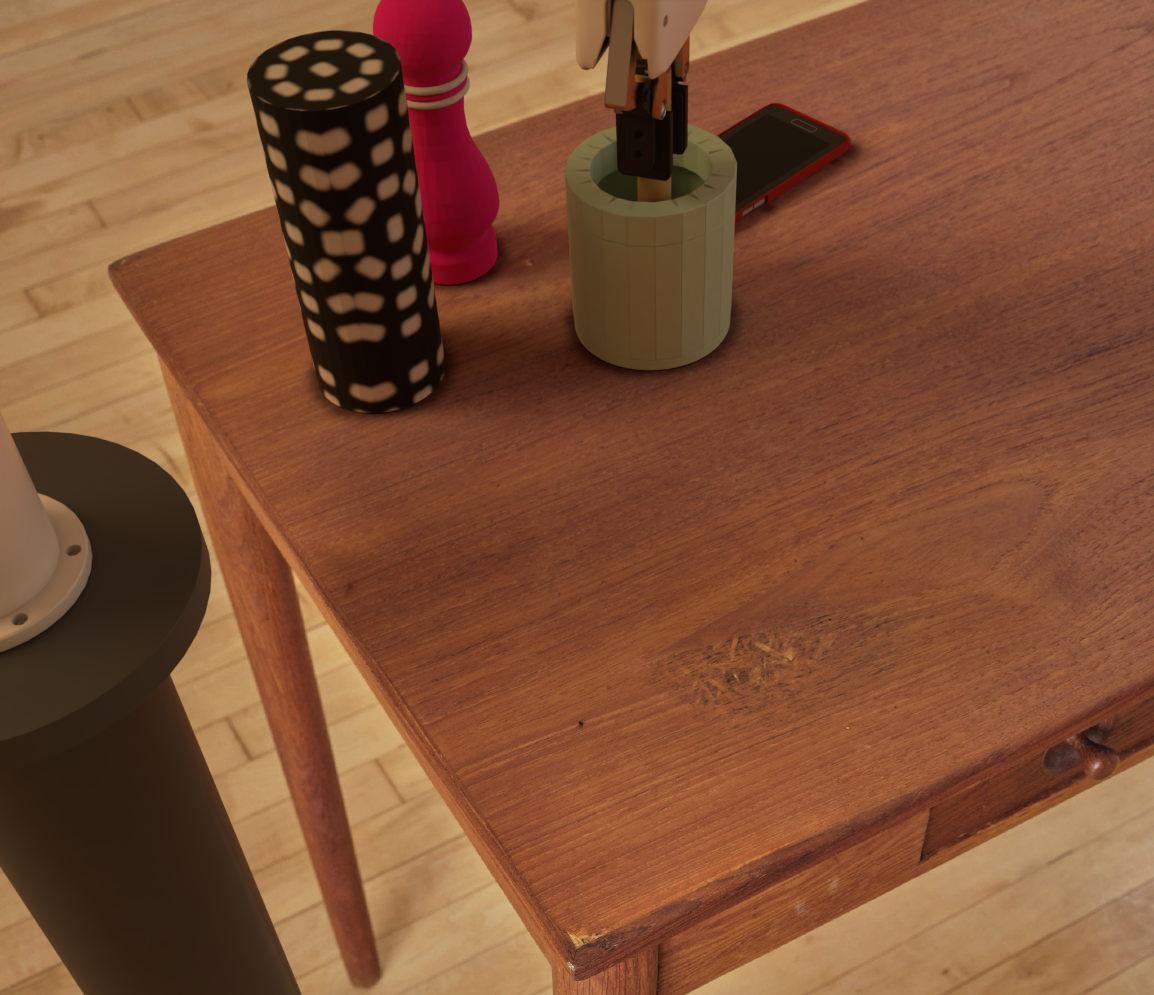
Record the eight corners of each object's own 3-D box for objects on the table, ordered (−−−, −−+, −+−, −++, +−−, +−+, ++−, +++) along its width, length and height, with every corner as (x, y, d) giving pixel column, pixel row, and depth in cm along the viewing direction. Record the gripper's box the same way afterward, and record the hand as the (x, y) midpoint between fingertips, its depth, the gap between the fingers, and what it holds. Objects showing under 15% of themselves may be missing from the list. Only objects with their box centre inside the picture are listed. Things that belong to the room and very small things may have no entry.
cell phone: (854, 149, 109) (855, 136, 108) (716, 238, 103) (717, 226, 102) (774, 111, 112) (774, 99, 111) (636, 196, 106) (636, 183, 106)
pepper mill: (516, 277, 102) (488, -24, 86) (413, 299, 101) (364, 0, 85) (490, 219, 106) (458, -78, 90) (391, 240, 105) (340, -56, 89)
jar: (589, 381, 95) (581, 227, 86) (562, 286, 101) (552, 133, 92) (746, 357, 95) (754, 202, 87) (710, 264, 101) (714, 110, 93)
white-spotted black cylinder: (291, 375, 97) (215, 75, 81) (388, 314, 100) (334, 15, 84) (374, 431, 93) (312, 129, 77) (472, 367, 96) (432, 63, 80)
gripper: (628, -259, 77) (635, 83, 92) (517, -126, 69) (544, 229, 84) (769, -247, 76) (752, 100, 90) (673, -109, 67) (672, 251, 82)
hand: (652, 160), depth 87 cm, fingers closed
